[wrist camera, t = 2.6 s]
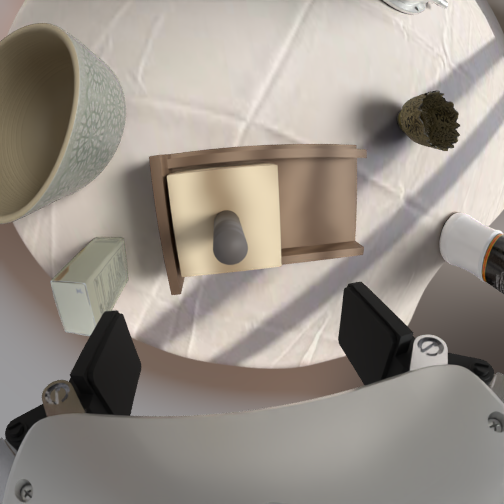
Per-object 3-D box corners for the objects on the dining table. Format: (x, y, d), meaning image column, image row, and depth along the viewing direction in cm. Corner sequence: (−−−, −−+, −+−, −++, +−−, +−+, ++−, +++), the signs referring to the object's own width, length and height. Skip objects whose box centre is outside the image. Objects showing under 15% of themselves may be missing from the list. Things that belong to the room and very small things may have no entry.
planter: (23, 102, 22) (-51, 95, 8) (125, 43, 23) (74, -13, 8) (47, 210, 29) (-27, 249, 14) (154, 163, 29) (103, 175, 15)
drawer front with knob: (266, 162, 29) (300, 169, 17) (270, 246, 33) (301, 302, 21) (175, 170, 29) (147, 184, 16) (187, 255, 32) (172, 317, 20)
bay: (352, 145, 31) (382, 145, 24) (351, 248, 36) (376, 269, 29) (163, 155, 29) (149, 156, 22) (179, 267, 34) (171, 294, 27)
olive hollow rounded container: (428, 119, 30) (466, 118, 23) (412, 157, 32) (450, 162, 25) (395, 86, 28) (432, 78, 21) (376, 125, 30) (414, 123, 23)
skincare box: (95, 236, 31) (47, 277, 20) (125, 236, 32) (85, 279, 20) (101, 281, 33) (63, 333, 22) (129, 283, 34) (98, 339, 22)
